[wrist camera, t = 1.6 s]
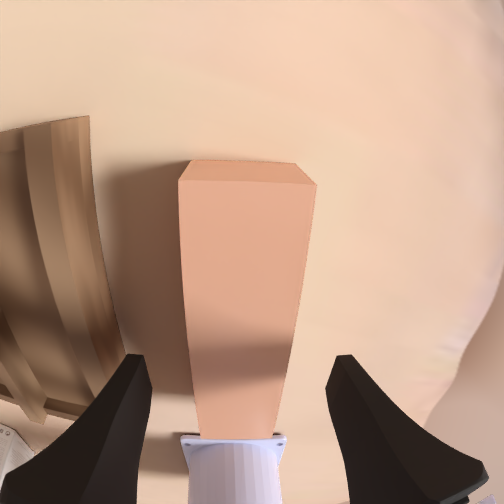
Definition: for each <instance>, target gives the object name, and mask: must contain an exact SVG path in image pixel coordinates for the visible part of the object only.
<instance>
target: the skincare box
mask: <svg viewBox="0 0 504 504" xmlns="http://www.w3.org/2000/svg"><path fill="white" fill-rule="evenodd" d="M33 457H34V452H33V451H32V450H31V449H30V448H29V446H28V445H27V444H26V443H25V442H24V441H23V440H22V438H21V437H20V436H19V435H18V434H17V432H16V431H15V430H13V429H11V428H9V427H7V426H5V425H3V424H1V423H0V490H1V486H2V483H3V480H4V477H5V475H6V473H8V472H10V471H12V470H14V469H15V468H17V467H19V466H20V465H22V464H24V463H26V462H27V461H29V460H30V459H32V458H33Z"/></svg>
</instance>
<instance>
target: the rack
mask: <svg viewBox="0 0 504 504" xmlns="http://www.w3.org/2000/svg"><path fill="white" fill-rule="evenodd" d="M125 356H126V354H125V350H124V347H123V343H122V340H121V336H120V332H119V328H118V324H117V320H116V316H115V312H114V308H113V304H112V299H111V295H110V290H109V286H108V281H107V276H106V271H105V266H104V260H103V254H102V249H101V243H100V236H99V230H98V222H97V215H96V207H95V198H94V189H93V178H92V166H91V150H90V125H89V116H83V117H76V118H69V119H62V120H56V121H51V122H45V123H40V124H35V125H30V126H25V127H21V128H16V129H12V130H8V131H4V132H0V399H2V400H5V401H7V402H10V403H13V404H16V405H19V406H20V407H21V409H22V410H23V411H24V413H25V414H26V415H27V417H28V418H29V419H30V421H33V422H36V423H40V424H44V421H45V419H46V416H47V414H49V415H53V416H57V417H61V418H65V419H69V420H73V421H76V420H77V419H78V418H79V417H80V416H81V415H82V413H83V412H84V411H85V410H86V409H87V408H88V406H89V405H90V404H91V403H92V402H93V400H94V399H95V398H96V397H97V395H98V394H99V393H100V391H101V390H102V389H103V387H104V386H105V385H106V383H107V382H108V381H109V379H110V378H111V377H112V375H113V374H114V372H115V371H116V369H117V368H118V367H119V365H120V364H121V362H122V361H123V359H124V358H125Z"/></svg>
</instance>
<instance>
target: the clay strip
mask: <svg viewBox="0 0 504 504" xmlns="http://www.w3.org/2000/svg"><path fill="white" fill-rule="evenodd" d="M316 188H317V185H316V184H315V183H314V182H313V181H312V180H311V179H310V178H309V177H308V176H307V175H306V174H305V173H304V172H303V171H302V170H301V169H300V168H299V167H298V166H297V165H296V164H291V163H276V162H256V161H227V160H191V161H190V163H189V164H188V166H187V168H186V169H185V171H184V172H183V174H182V175H181V177H180V178H179V180H178V198H179V228H180V249H181V266H182V281H183V294H184V307H185V318H186V329H187V339H188V348H189V357H190V366H191V374H192V382H193V390H194V397H195V404H196V411H197V418H198V424H199V431H200V437H201V439H265V438H272V436H273V432H274V428H275V423H276V419H277V415H278V410H279V406H280V401H281V396H282V392H283V387H284V382H285V377H286V373H287V368H288V363H289V358H290V353H291V347H292V342H293V337H294V332H295V326H296V321H297V315H298V309H299V304H300V298H301V292H302V286H303V280H304V273H305V267H306V261H307V254H308V247H309V241H310V234H311V227H312V219H313V212H314V204H315V196H316Z"/></svg>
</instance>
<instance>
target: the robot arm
mask: <svg viewBox="0 0 504 504" xmlns="http://www.w3.org/2000/svg"><path fill="white" fill-rule="evenodd" d="M325 390H326V396H327V402H328V408H329V412H330V416H331V419H332V423H333V426H334V429H335V432H336V436H337V439H338V442H339V446H340V449H341V452H342V456H343V460H344V464H345V469H346V476H347V482H348V490H349V498H350V504H467V503H469V498H468V495H469V494H470V493H472V492H473V491H475V490H476V489H478V488H479V487H481V486H482V485H483V484H485V483H486V482H487V481H488V479H489V476H488V474H487V472H486V470H485V468H484V465H483V463H482V461H480V460H477V459H475V458H472V457H470V456H468V455H465V454H463V453H461V452H459V451H457V450H455V449H454V448H452V447H450V446H448V445H447V444H445V443H443V442H442V441H440V440H439V439H437V438H436V437H434V436H433V435H431V434H430V433H428V432H427V431H426V430H424V429H423V428H422V427H420V426H419V425H418V424H417V423H415V422H414V421H413V420H412V419H411V418H409V417H408V416H407V415H406V414H405V413H404V412H403V411H402V410H401V409H400V408H399V407H398V406H397V405H396V404H395V403H394V402H393V401H392V400H391V399H390V398H389V397H388V396H387V395H386V394H385V393H384V392H383V391H382V389H381V388H380V387H379V386H378V385H377V384H376V383H375V382H374V380H373V379H372V378H371V377H370V376H369V375H368V373H367V372H366V371H365V370H364V369H363V368H362V366H361V365H360V364H359V363H358V362H357V360H356V359H355V358H354V357H353V356H352V355H339V356H336V359H335V362H334V365H333V368H332V371H331V374H330V377H329V379H328V382H327V385H326V388H325ZM151 396H152V386H151V382H150V378H149V375H148V371H147V367H146V363H145V359H144V355H136V354H127V355H126V356H125V358H124V359H123V361H122V362H121V364H120V365H119V367H118V368H117V369H116V371H115V372H114V374H113V375H112V377H111V378H110V379H109V381H108V382H107V383H106V385H105V386H104V387H103V389H102V390H101V391H100V393H99V394H98V395H97V397H96V398H95V399H94V400H93V402H92V403H91V404H90V405H89V406H88V408H87V409H86V410H85V411H84V412H83V413H82V415H81V416H80V417H79V418H78V419H77V420H76V421H75V422H74V423H73V424H72V425H71V426H70V427H69V428H68V429H67V430H66V431H65V432H64V433H63V434H62V435H61V436H60V437H58V438H57V439H56V440H55V441H54V442H53V443H52V444H50V445H49V446H48V447H47V448H45V449H44V450H43V451H41V452H40V453H39V454H37V455H36V456H34V457H33V458H32V459H30V460H29V461H27V462H26V463H24V464H22V465H20V466H19V467H17V468H15V469H14V470H12V471H10V472H8V473H6V475H5V477H4V480H3V483H2V486H1V490H0V504H137V480H138V467H139V460H140V455H141V450H142V446H143V441H144V436H145V432H146V427H147V423H148V418H149V413H150V406H151ZM180 442H181V446H182V449H183V453H184V456H185V459H186V463H187V466H188V469H189V490H188V504H283V503H282V496H281V488H280V480H279V472H278V465H279V462H280V460H281V457H282V454H283V451H284V448H285V445H286V442H287V439H286V436H285V435H273V436H272V438H265V439H201V437H200V436H195V435H182V436H181V437H180ZM476 504H497V503H496V501H495V498H494V496H493V495H490V496H488V497H486V498H485V499H483V500H481V501H480V502H478V503H476Z"/></svg>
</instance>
